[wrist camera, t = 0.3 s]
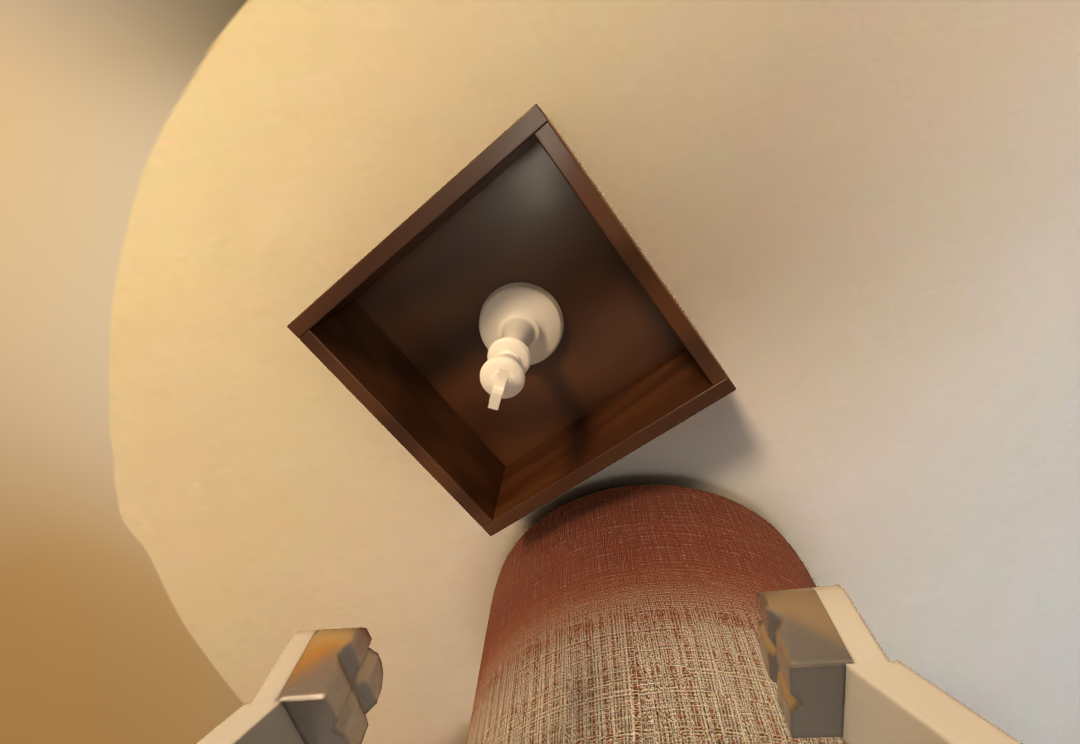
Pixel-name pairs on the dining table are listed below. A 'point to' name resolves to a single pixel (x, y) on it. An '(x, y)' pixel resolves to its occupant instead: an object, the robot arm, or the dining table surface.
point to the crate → (459, 353)
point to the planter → (636, 625)
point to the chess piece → (516, 336)
